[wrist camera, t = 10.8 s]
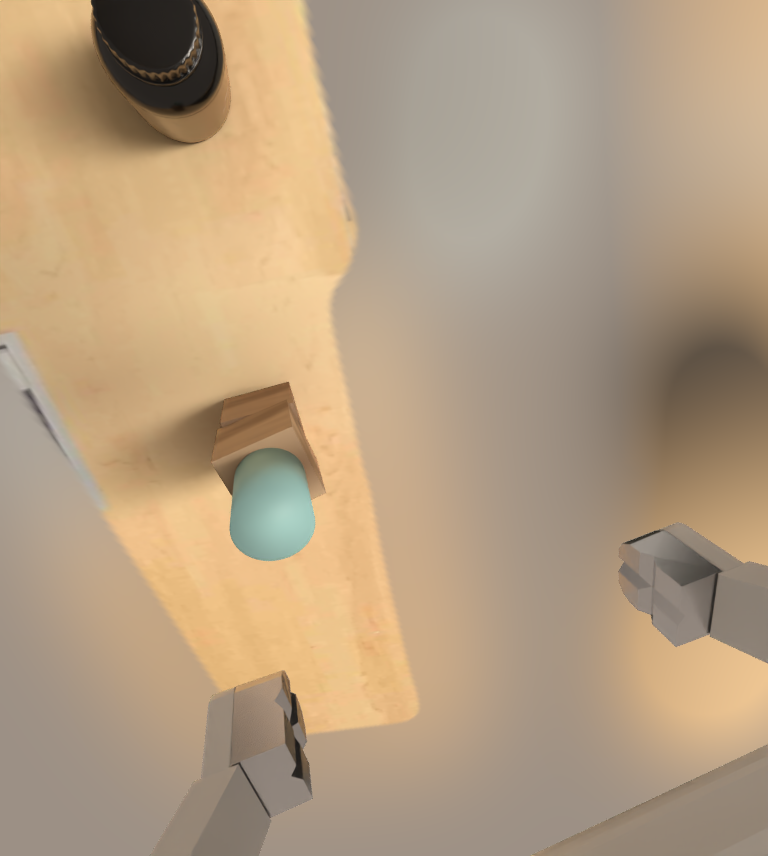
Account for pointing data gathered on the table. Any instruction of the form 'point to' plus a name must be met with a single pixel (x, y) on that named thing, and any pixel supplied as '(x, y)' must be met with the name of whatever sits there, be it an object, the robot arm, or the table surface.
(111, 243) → the table surface
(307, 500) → the teal rounded cylinder
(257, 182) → the table surface
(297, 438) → the tower top
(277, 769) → the robot arm
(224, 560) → the table surface
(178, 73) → the supplement bottle
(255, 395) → the tower base
